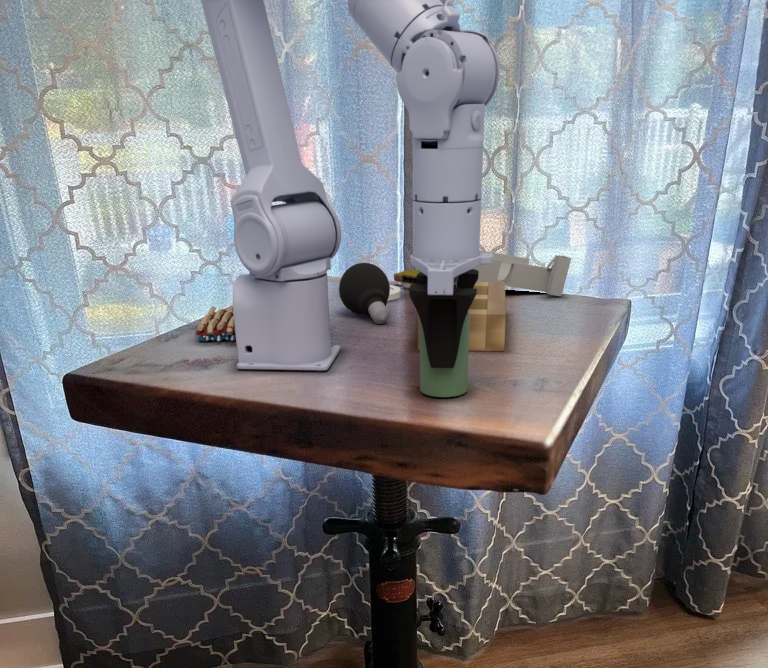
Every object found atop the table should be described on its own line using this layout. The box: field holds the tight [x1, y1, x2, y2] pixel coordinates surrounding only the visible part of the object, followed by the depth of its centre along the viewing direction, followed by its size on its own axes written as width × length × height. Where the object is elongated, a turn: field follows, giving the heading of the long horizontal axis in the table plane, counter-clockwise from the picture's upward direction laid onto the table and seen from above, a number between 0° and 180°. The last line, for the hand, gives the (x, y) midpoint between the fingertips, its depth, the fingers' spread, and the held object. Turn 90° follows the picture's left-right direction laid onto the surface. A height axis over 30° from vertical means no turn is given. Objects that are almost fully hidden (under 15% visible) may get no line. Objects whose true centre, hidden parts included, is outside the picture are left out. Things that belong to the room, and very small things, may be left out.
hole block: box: [417, 282, 507, 352], centre depth 91 cm, size 9×17×4 cm, turn 173°
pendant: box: [387, 284, 402, 302], centre depth 111 cm, size 7×11×1 cm, turn 34°
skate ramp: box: [473, 245, 572, 297], centre depth 109 cm, size 15×13×5 cm
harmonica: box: [393, 269, 420, 289], centre depth 111 cm, size 15×3×2 cm, turn 41°
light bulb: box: [338, 262, 391, 325], centre depth 97 cm, size 6×6×10 cm
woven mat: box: [195, 304, 236, 343], centre depth 93 cm, size 10×11×2 cm
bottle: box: [419, 276, 470, 398], centre depth 70 cm, size 4×4×10 cm
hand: (444, 359), depth 71 cm, fingers closed on bottle, 4 cm apart
